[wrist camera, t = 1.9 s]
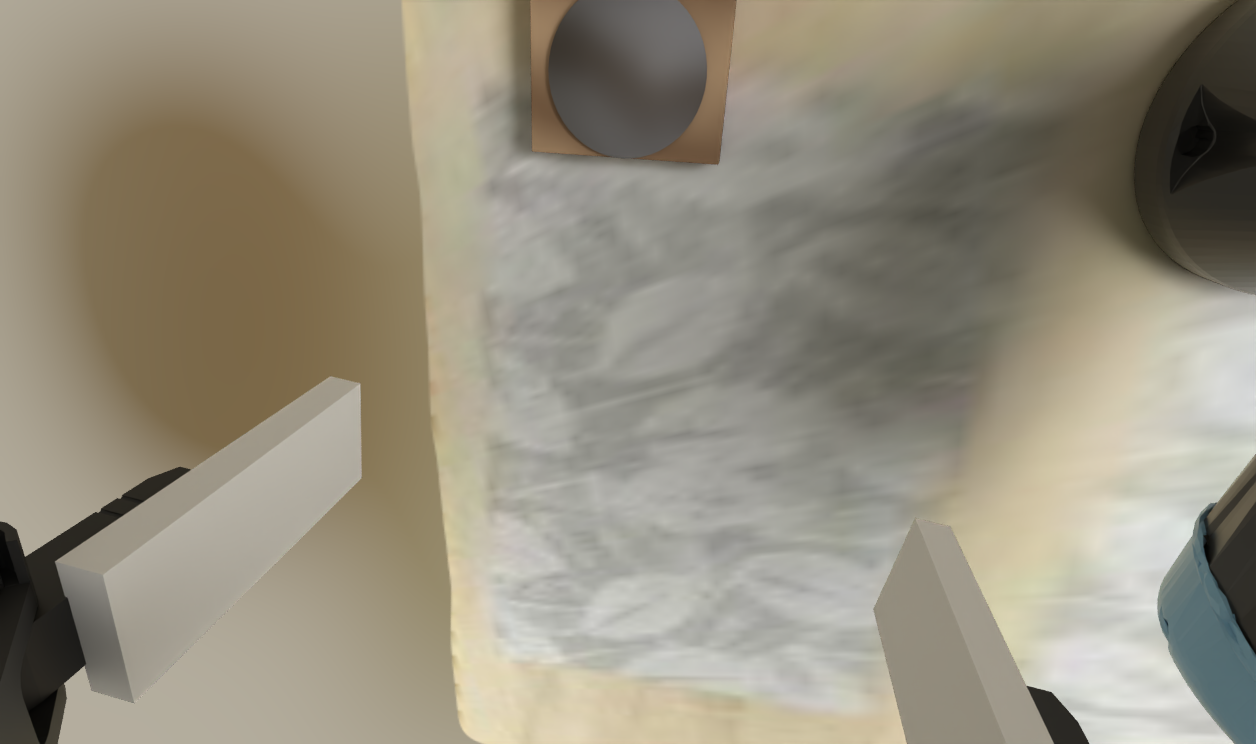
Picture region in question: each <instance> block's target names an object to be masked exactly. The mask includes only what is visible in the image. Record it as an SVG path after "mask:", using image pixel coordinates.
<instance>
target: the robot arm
mask: <svg viewBox="0 0 1256 744" xmlns="http://www.w3.org/2000/svg"><path fill="white" fill-rule="evenodd" d="M1134 181H1135V193H1136V198H1137V203H1138V207H1139V211H1140V214H1141V216H1142V219H1143V222H1144V224H1145V226H1146V228H1147V230H1148V231H1149V233H1150V235H1151V236H1152V238H1153V239H1154V241H1155V242H1156V243H1157V244H1158V246H1159V247H1160V248H1161V249H1162V250H1163V251H1164V252H1165V253H1166V254H1167V255H1168V256H1169V257H1170V258H1171V259H1173V260H1174V261H1175V262H1176V263H1178V264H1179V265H1181V266H1182V267H1184V268H1185V269H1187V270H1189V271H1191V272H1192V273H1195V274H1197V275H1199V276H1201V277H1203V278H1206V279H1209V280H1211V281H1214V282H1216V283H1219V284H1221V285H1224V286H1227V287H1229V288H1232V289H1235V290H1238V291H1241V292H1245V293H1249V294H1254V295H1256V0H1238V1H1237V2H1236V3H1234V4H1233V5H1232V6H1230V7H1229V8H1228V9H1227V10H1225V11H1224V12H1223V13H1222V14H1221V15H1220V16H1219V17H1218V18H1216V19H1215V20H1214V21H1213V22H1212V23H1211V24H1210V25H1209V26H1208V27H1207V28H1206V29H1205V30H1204V31H1203V32H1202V33H1201V34H1200V35H1199V36H1198V37H1197V38H1196V39H1195V41H1194V42H1193V43H1192V44H1191V45H1190V46H1189V47H1188V49H1187V50H1186V51H1185V52H1184V53H1183V55H1182V56H1181V57H1180V59H1179V60H1178V61H1177V63H1176V64H1175V65H1174V67H1173V68H1172V70H1171V71H1170V73H1169V74H1168V76H1167V77H1166V79H1165V80H1164V82H1163V84H1162V85H1161V87H1160V89H1159V91H1158V92H1157V94H1156V96H1155V98H1154V100H1153V102H1152V104H1151V107H1150V109H1149V111H1148V114H1147V116H1146V119H1145V121H1144V124H1143V127H1142V130H1141V134H1140V138H1139V142H1138V146H1137V152H1136V158H1135V169H1134ZM360 396H361V392H360V383H356V382H352V381H348V380H344V379H339V378H336V377H331V376H330V377H329V378H327V379H326V380H324V381H323V382H321V383H320V384H318V385H317V386H315V387H314V388H312V389H311V390H309V391H308V392H306V393H305V394H303V395H302V396H300V397H299V398H298V399H296V400H294V401H293V402H292V403H290V404H289V405H287V406H286V407H284V408H283V409H281V410H280V411H278V412H277V413H275V414H274V415H272V416H271V417H269V418H268V419H266V420H265V421H263V422H262V423H260V424H259V425H257V426H256V427H254V428H253V429H251V430H250V431H249V432H247V433H245V434H244V435H242V436H241V437H240V438H238V439H237V440H235V441H234V442H232V443H231V444H229V445H228V446H226V447H225V448H223V449H222V450H220V451H219V452H217V453H216V454H214V455H213V456H211V457H210V458H208V459H207V460H205V461H204V462H202V463H201V464H199V465H198V466H196V467H195V468H194V469H192V470H190V469H186V468H183V467H178V468H175V469H172V470H170V471H167V472H164V473H162V474H159V475H156V476H154V477H151V478H148V479H147V480H145V481H143V482H142V483H140V484H139V485H137V486H136V487H134V488H133V489H131V490H129V491H128V492H126V493H125V494H123V495H122V498H121V499H118V498H117V499H115V500H114V501H112V502H111V503H109V504H108V505H106V506H104V507H103V508H101V511H100V512H99V513H97V512H95V513H93V514H92V515H90V516H89V517H87V518H86V519H84V520H82V521H81V522H79V523H78V524H76V525H75V526H73V527H71V528H70V529H68V530H67V531H65V532H64V533H62V534H61V535H59V536H57V537H56V538H54V539H53V540H51V541H49V542H48V543H46V544H45V545H43V546H42V547H40V548H38V549H37V550H35V551H34V552H32V553H31V554H29V555H28V556H26V557H25V556H24V553H23V549H22V546H21V543H20V540H19V536H18V533H17V530H16V529H15V528H13V527H12V526H11V525H9V524H8V523H5V522H0V744H58V739H59V734H60V729H61V724H62V719H63V714H64V708H65V704H66V699H67V697H66V689H65V685H64V683H65V682H66V681H67V680H68V679H70V677H72V676H73V675H74V674H75V673H76V672H78V671H79V670H80V669H81V668H82V667H83V666H85V669H86V672H87V676H88V680H89V683H90V686H91V690H92V691H94V692H98V693H101V694H105V695H108V696H111V697H114V698H118V699H121V700H125V701H128V702H131V703H135V702H136V701H137V700H138V699H139V698H140V697H141V696H142V695H143V694H144V693H145V692H146V691H147V690H148V689H149V688H150V687H151V686H152V685H153V684H154V683H155V682H156V681H157V680H158V679H159V678H160V677H161V676H162V675H163V674H164V673H165V672H166V671H167V670H168V669H169V668H170V667H171V666H172V665H174V663H176V661H177V660H178V659H179V658H181V657H182V656H183V654H185V652H187V650H189V648H191V647H192V646H193V645H194V644H195V643H196V642H197V640H199V639H200V638H201V637H202V636H203V635H204V634H205V633H206V632H207V631H208V630H209V629H210V628H211V627H212V626H213V625H214V624H215V623H216V622H217V621H218V620H219V619H220V618H221V617H222V616H223V615H224V614H225V613H226V612H227V611H228V610H229V609H230V608H231V607H232V606H233V605H234V604H235V603H236V602H237V601H238V600H239V599H240V598H241V597H242V596H243V595H244V594H245V593H246V592H247V591H248V590H249V589H250V588H251V587H252V586H253V585H254V584H255V583H256V582H257V581H258V580H259V579H260V578H261V577H262V576H263V575H264V574H265V573H266V572H267V571H268V570H269V569H270V568H271V567H272V566H273V565H274V564H275V563H276V562H277V561H278V560H279V559H280V558H281V557H282V556H283V555H284V554H285V553H286V552H287V551H288V550H289V549H290V548H291V547H292V546H294V545H295V544H296V543H297V542H298V540H299V539H300V538H302V536H304V534H306V533H307V532H308V531H309V530H310V529H311V528H312V527H313V526H314V525H315V524H316V523H317V522H318V521H319V520H320V519H321V518H322V517H323V516H324V515H325V514H326V513H327V512H328V511H329V510H330V509H331V508H332V507H333V506H334V505H335V504H336V503H337V502H338V501H339V500H340V499H341V498H342V497H343V496H344V495H345V494H346V493H347V492H348V491H349V490H350V489H351V488H352V487H353V486H354V485H355V484H356V483H357V482H358V481H359V480H360V479H361V478H362V476H361V397H360ZM1157 610H1158V617H1159V621H1160V625H1161V628H1162V631H1163V633H1164V635H1165V637H1166V639H1167V640H1168V642H1169V643H1168V649H1169V652H1170V655H1171V657H1172V659H1173V661H1174V663H1175V664H1176V666H1177V668H1178V669H1179V671H1180V673H1181V675H1182V677H1183V678H1184V680H1185V681H1186V683H1187V685H1188V686H1189V688H1190V689H1191V691H1192V692H1193V693H1194V695H1195V696H1196V698H1197V699H1198V700H1199V702H1200V703H1201V704H1202V706H1203V707H1204V708H1205V710H1206V711H1207V712H1208V713H1209V715H1210V716H1211V717H1212V719H1213V720H1214V721H1215V722H1216V723H1217V725H1218V726H1219V727H1220V728H1221V729H1222V730H1223V732H1224V733H1225V734H1226V735H1227V736H1228V737H1229V738H1230V739H1231V740H1232V742H1233V743H1234V744H1256V454H1255V456H1254V457H1253V458H1252V459H1251V461H1250V462H1249V463H1248V465H1247V466H1246V467H1245V468H1244V470H1243V471H1242V472H1241V473H1240V475H1239V476H1238V477H1237V478H1236V480H1235V481H1234V482H1233V484H1232V485H1231V486H1230V487H1229V489H1228V490H1227V491H1226V492H1225V494H1224V495H1223V496H1222V497H1221V499H1220V500H1219V501H1218V502H1217V503H1210V504H1209V505H1208V506H1207V507H1206V508H1205V509H1204V510H1203V511H1202V512H1201V513H1200V515H1199V516H1198V518H1197V520H1196V522H1195V526H1194V530H1193V536H1192V537H1191V539H1190V540H1189V542H1188V543H1187V545H1186V546H1185V548H1184V549H1183V550H1182V552H1181V553H1180V555H1179V556H1178V558H1177V559H1176V561H1175V562H1174V564H1173V565H1172V567H1171V568H1170V570H1169V571H1168V573H1167V574H1166V576H1165V577H1164V579H1163V582H1162V584H1161V586H1160V590H1159V595H1158V605H1157ZM874 613H875V617H876V621H877V625H878V629H879V633H880V637H881V641H882V645H883V649H884V653H885V657H886V661H887V665H888V669H889V673H890V677H891V681H892V685H893V689H894V693H895V697H896V701H897V705H898V709H899V713H900V717H901V722H902V726H903V730H904V734H905V738H906V742H907V744H1089V742H1088V740H1087V738H1086V736H1085V734H1084V733H1083V731H1082V729H1081V727H1080V725H1079V723H1078V722H1077V720H1076V719H1075V718H1074V717H1073V716H1072V715H1071V714H1070V713H1069V711H1068V710H1067V709H1066V708H1065V707H1064V706H1063V705H1062V703H1061V702H1060V701H1059V700H1058V699H1057V698H1056V697H1055V696H1054V694H1053V693H1052V692H1049V691H1045V690H1041V689H1037V688H1033V687H1029V686H1026V684H1025V682H1024V680H1023V678H1022V676H1021V674H1020V672H1019V669H1018V667H1017V665H1016V663H1015V661H1014V659H1013V657H1012V655H1011V653H1010V651H1009V648H1008V646H1007V644H1006V642H1005V640H1004V638H1003V636H1002V634H1001V632H1000V630H999V627H998V625H997V623H996V621H995V619H994V617H993V615H992V613H991V611H990V609H989V606H988V604H987V602H986V600H985V598H984V596H983V594H982V592H981V590H980V588H979V586H978V583H977V581H976V579H975V577H974V575H973V573H972V571H971V569H970V567H969V565H968V562H967V560H966V558H965V556H964V554H963V552H962V550H961V548H960V546H959V544H958V541H957V539H956V537H955V535H954V533H953V531H952V529H951V527H950V526H946V525H942V524H938V523H934V522H930V521H926V520H921V519H917V518H915V520H914V522H913V524H912V526H911V528H910V531H909V533H908V535H907V537H906V539H905V541H904V544H903V546H902V548H901V550H900V552H899V554H898V557H897V559H896V561H895V563H894V565H893V568H892V570H891V572H890V574H889V576H888V578H887V581H886V583H885V585H884V587H883V589H882V591H881V594H880V596H879V598H878V600H877V602H876V605H875V607H874Z"/></svg>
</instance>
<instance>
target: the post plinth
mask: <svg viewBox="0 0 1256 744" xmlns="http://www.w3.org/2000/svg"><path fill="white" fill-rule="evenodd" d="M735 9H736V0H530V13H531V102H532V151H533V152H547V153H561V154H576V155H590V156H604V157H616V158H632V159H647V160H661V161H675V162H689V163H703V164H719V160H720V151H721V141H722V132H723V123H724V113H725V104H726V94H727V85H728V75H729V66H730V56H731V47H732V37H733V28H734V18H735Z"/></svg>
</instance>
